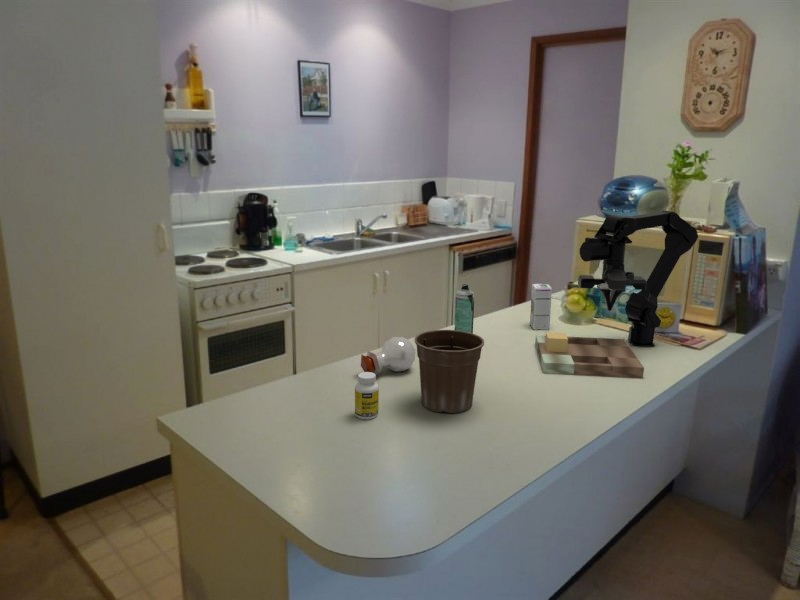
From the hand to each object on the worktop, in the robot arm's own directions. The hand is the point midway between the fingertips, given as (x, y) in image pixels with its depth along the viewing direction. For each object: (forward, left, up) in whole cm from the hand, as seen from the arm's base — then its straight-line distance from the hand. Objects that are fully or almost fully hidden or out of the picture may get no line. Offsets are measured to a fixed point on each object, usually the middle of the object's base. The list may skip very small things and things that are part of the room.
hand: (609, 310), depth 185 cm
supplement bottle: (+64, +56, -12) cm, 86 cm away
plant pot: (+46, +47, -12) cm, 67 cm away
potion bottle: (+62, +29, -12) cm, 70 cm away
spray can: (+43, +8, -12) cm, 45 cm away
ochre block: (+17, +12, -9) cm, 22 cm away
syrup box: (+18, -18, -12) cm, 28 cm away
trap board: (+8, +12, -12) cm, 18 cm away
